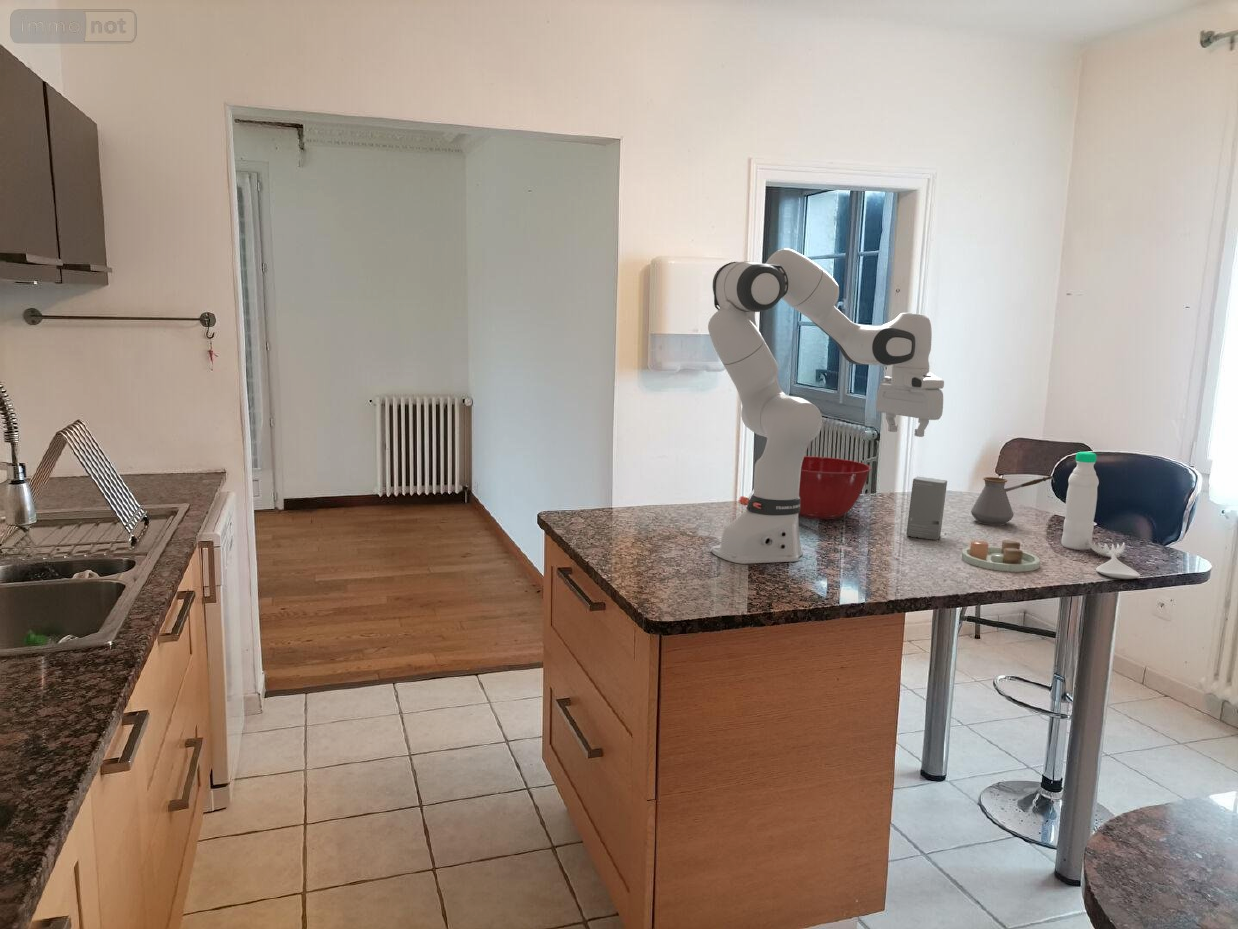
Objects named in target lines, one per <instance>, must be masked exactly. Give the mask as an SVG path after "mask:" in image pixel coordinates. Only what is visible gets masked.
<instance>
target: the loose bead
mask: <svg viewBox="0 0 1238 929" xmlns="http://www.w3.org/2000/svg"><path fill="white" fill-rule="evenodd" d="M988 546H989V543H988V542H986V541H981V540H971V541H970V545H969V547H970V556H972V557H975V558H978V559H981V560H986V561H987V555H988Z"/></svg>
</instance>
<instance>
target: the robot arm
mask: <svg viewBox="0 0 1238 929" xmlns="http://www.w3.org/2000/svg"><path fill="white" fill-rule="evenodd" d="M712 294H713V304H714V307H715V308H716V310H717V311H716V312H715V313H714V314H713V315H712V317H710V318H709V321H708V326H707V328H708V329H707V330H708V334H709V337H710V339H711V342H712V345H713V348H714V349H715V351H716V354H717V356H718V358H719V361H720V362H721V363H722V365H723V367H724V368H725V370H726V372H727V373H728V375H729V377H730V379H731V381H732V382H733V384H734V386H735V388H736V390H737V393H738V396H739V399H740V402H741V405H742V407H741V411H740V412H741V413H740V415H741V420H742V423H743V425H745V427H746V428H748V429H749V430H750V431H752V432H753V433H754V434H756V435H757V436H761V437H765V438H766V443H765V447H764V449H763V452H762V454H761V457H760V458H758V459H757V460H756V462H755V464H754V475H753V477H754V478H753V493H752V494H751V496H750V498H748V497H746V496H744V495H742V496H739V498H738V503H739V504H740V505H743V506H746V510H745V511H743V512H742V513H741V514H740V515H739V516H738V517H736V518H735V519H734V520H732V521H731V522H730V523H729V524H727V525H726V526H725V527H724V530H723V532H722V536H721V542H720V544H718V545H713V546H712V547H711V553H713V554H714V556H717V557H719V558H720V559H723V560H726V561H728V562H731V563H732V562H733V563H737V564H743V565H745V564H746V565H747V564H762V563H763V564H765V563H784V562H785V563H786V562H787V563H788V562H798V561H799V558H800V557H802V555H803V554H804V553H803V549H802V544H801V539H800V529H799V527H800V526H799V517H800V516H799V513H800V502H801V498H800V497H799V488H800V476H801V467H802V462H803V459H804V456H806V452H807V450H808V448H809V446H810V444H811V442H812V441H813V440H815V438H817V437H818V435H819V434H820V432H821V430H822V426H823V415H822V413H821V411H820V409H819V408H818V407H817V405H815V404H814V403H812V402H810V401H809V400H807V399H805V398H802V397H798V396H794V395H787V394H786V393H785V392H783V390H782V389H781V387H780V383H779V380H778V374H779V369H780V368H779V364H778V362H777V360H776V358H775V357H774V355H773V353H772V351H771V350H770V348H769V346H768V344H767V343H766V340H765V338H764V337H763V335H762V334H761V332H760V331H759V329H758V325H757V322H756V313H761V312H766V311H769V310H771V309H772V308H773V307H775V306H776V305H777V304H778V303H779V302H780V301H781V300H783V301H784V302H786V303H787V304H788V305H789V306H790V307H792V308H793V309H794V310H796V311H797V312H799V313H800V314H801V315H803V316H804V317H807V319H809V320H810V321H811V322H812V323H813V324H814V325H815V326H816V327H818V329H819V330H821V331H822V332H823V333H825V334H826V335H827V336H828V337H829V338H831V340H832V341H833V342H834V343H835V344H836V346H837V347H838V349H839V351H840V352H841V354H842V356H843V357H844V359H845V360H846V361H847V362H849V363H851V364H853V365H857V366H860V365H863V366H864V365H869V366H882V367H887V366H892V367H891V377H890V376H884V377H883V379H881V380H880V382H879V387H878V390H877V394H876V401H875V410H876V412H878V413H882V414H883V413H884V414H885V420H886V422H887V425H888V426H887V427H888V428H887V430H888V432H889V433H890V432H892V433H897V432H898V427H899V426H898V424H896V420H895V418H896V416H902V417H908V418H915V419H918V422H917V423H918V424H919V425H918V427H917V428H915V429H914V437H919V438H924V436H925V430H926V429H927V426H929V423H930V421H938V420H940V418H941V417H942V416H943V409H944V393H943V391H942V389H943V388H944V386H945V381H944V379H942V378H941V377H938V376H937V375H935V374H933V373H932V372H930V362H929V358H930V354H931V351H932V340H933V339H932V338H933V337H932V324H931V320H930V318H929V317H927V316H926V315H924V314H920V313H915V312H914V313H913V312H901V313H899V315H898V316H896V317H895V318H894V319H893V320H891V321H889V322H887V323H884V324H882V325H865V324H858V323H855V322H853V321H852V320H851V319H850V318H848V317H847V316H846V315H845V314H844V313H842V311H840V309H838V308H837V307H836V305H837V303H838V301H839V296H840V288H839V284H838V282H837V281H836V280H835V278H834V277H833V276H832V275H831V274H829V273H828V272H827V271H826V270H825V269H824V268H822V267H821V266H820V265H819V264H817V263H816V262H814V261H813V260H811V259H810V258H808V257H806V256H805V255H803V254H801V253H799V252H798V251H795V250H794V249H791V248H781V249H779V250H776V251H775V252H774V253H772V254H771V255H770V256H769V258H768V259H767V260H766V262H765V263H759V262H753V261H731V262H729V263H728V262H727V263H725V264H724V265H722V266H721V267H719V268H718V269H717V271H716V272H715V273H714V275H713V279H712Z"/></svg>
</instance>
